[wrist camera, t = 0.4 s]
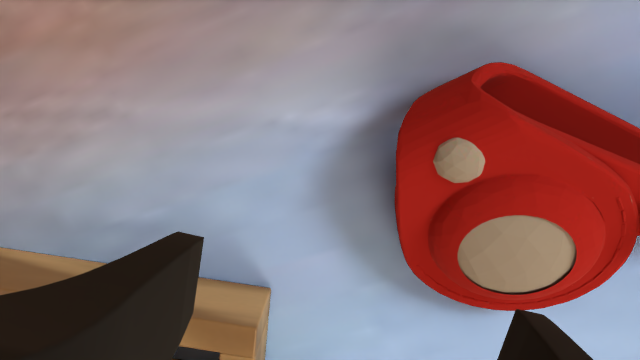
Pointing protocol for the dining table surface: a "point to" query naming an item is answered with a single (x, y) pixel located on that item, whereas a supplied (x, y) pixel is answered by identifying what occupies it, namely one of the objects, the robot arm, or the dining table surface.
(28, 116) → the dining table surface
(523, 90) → the red curved piece
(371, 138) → the dining table surface
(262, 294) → the pen block
